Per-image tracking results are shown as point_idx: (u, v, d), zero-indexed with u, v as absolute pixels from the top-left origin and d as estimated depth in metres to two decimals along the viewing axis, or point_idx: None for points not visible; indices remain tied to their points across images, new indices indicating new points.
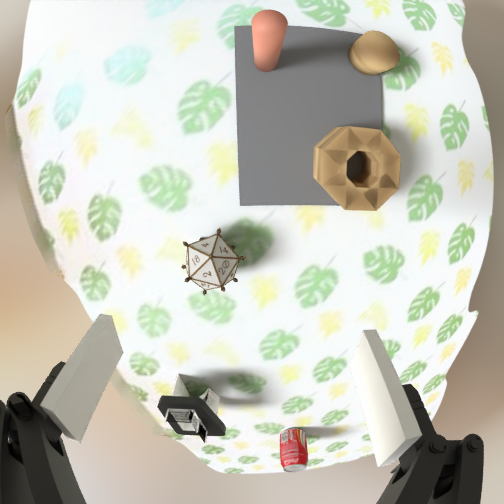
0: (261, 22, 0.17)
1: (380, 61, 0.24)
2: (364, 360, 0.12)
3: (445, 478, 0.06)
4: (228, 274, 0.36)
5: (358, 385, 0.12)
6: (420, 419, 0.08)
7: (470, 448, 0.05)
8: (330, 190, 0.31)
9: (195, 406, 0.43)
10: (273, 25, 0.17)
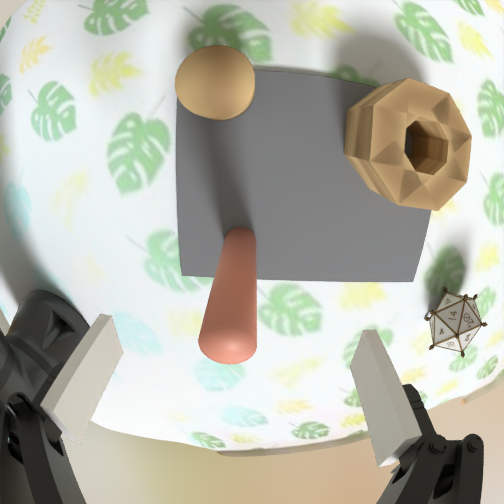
0: (226, 353, 0.14)
1: (239, 81, 0.16)
2: (364, 360, 0.12)
3: (445, 478, 0.06)
4: (474, 315, 0.23)
5: (358, 385, 0.12)
6: (420, 419, 0.08)
7: (470, 448, 0.05)
8: (444, 200, 0.18)
9: None
10: (232, 340, 0.13)
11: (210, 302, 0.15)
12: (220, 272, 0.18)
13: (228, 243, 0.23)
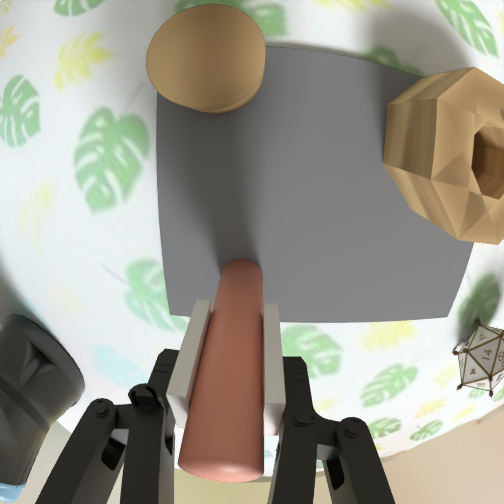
0: (220, 476, 0.07)
1: (242, 52, 0.10)
2: None
3: (340, 464, 0.08)
4: None
5: None
6: (299, 390, 0.10)
7: (349, 434, 0.07)
8: None
9: None
10: (228, 468, 0.07)
11: (194, 404, 0.09)
12: (211, 346, 0.12)
13: (224, 287, 0.16)
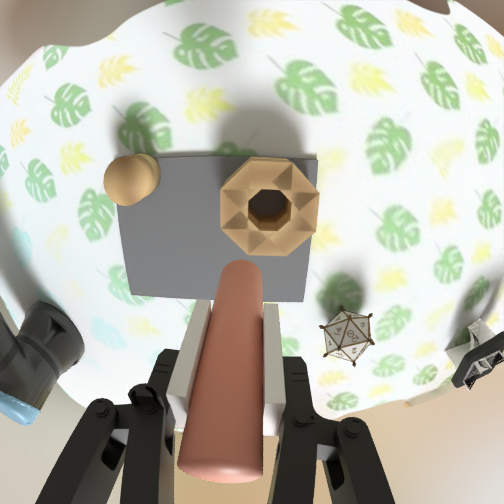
0: (219, 477, 0.07)
1: (138, 182, 0.28)
2: None
3: (340, 464, 0.08)
4: (360, 332, 0.35)
5: None
6: (299, 390, 0.10)
7: (349, 434, 0.07)
8: (292, 248, 0.30)
9: (470, 362, 0.35)
10: (227, 470, 0.07)
11: (193, 405, 0.09)
12: (210, 347, 0.12)
13: (224, 288, 0.16)
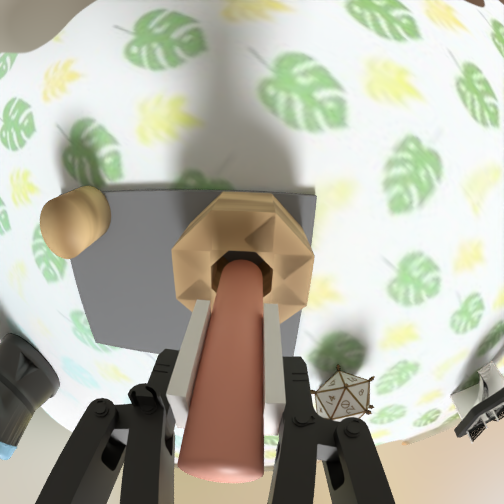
0: (220, 477, 0.07)
1: (75, 231, 0.20)
2: None
3: (340, 464, 0.08)
4: (357, 402, 0.27)
5: None
6: (299, 390, 0.10)
7: (349, 434, 0.07)
8: None
9: (476, 416, 0.27)
10: (228, 470, 0.07)
11: (194, 405, 0.09)
12: (211, 347, 0.12)
13: (224, 288, 0.16)
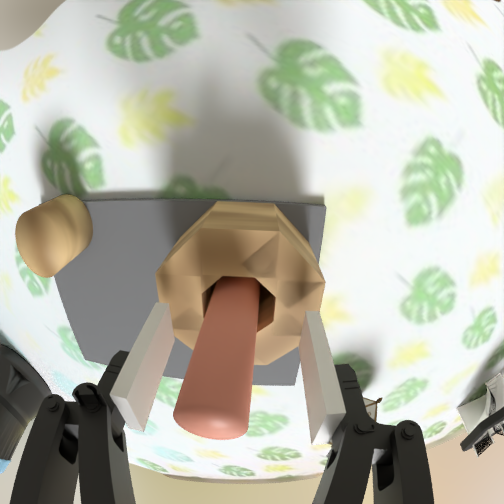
0: (210, 431, 0.09)
1: (51, 248, 0.16)
2: (305, 339, 0.13)
3: (388, 466, 0.07)
4: None
5: (302, 364, 0.14)
6: (352, 398, 0.09)
7: (405, 436, 0.07)
8: (276, 356, 0.18)
9: (484, 431, 0.23)
10: (216, 421, 0.09)
11: (191, 364, 0.11)
12: (210, 317, 0.14)
13: None
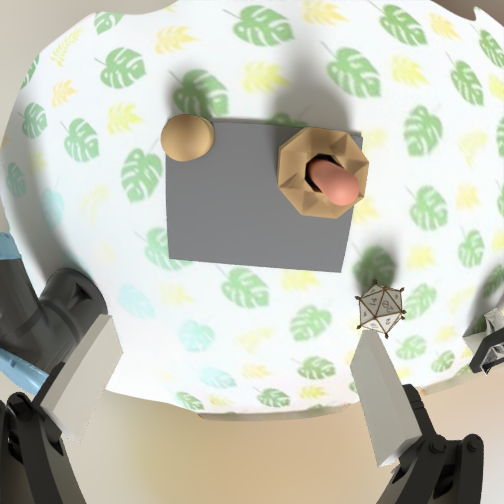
0: (341, 195, 0.22)
1: (198, 138, 0.29)
2: (364, 360, 0.12)
3: (445, 478, 0.06)
4: (394, 303, 0.35)
5: (358, 385, 0.12)
6: (420, 419, 0.08)
7: (470, 448, 0.05)
8: (342, 211, 0.30)
9: (488, 346, 0.35)
10: (346, 184, 0.21)
11: (325, 170, 0.23)
12: (321, 164, 0.26)
13: (314, 160, 0.30)
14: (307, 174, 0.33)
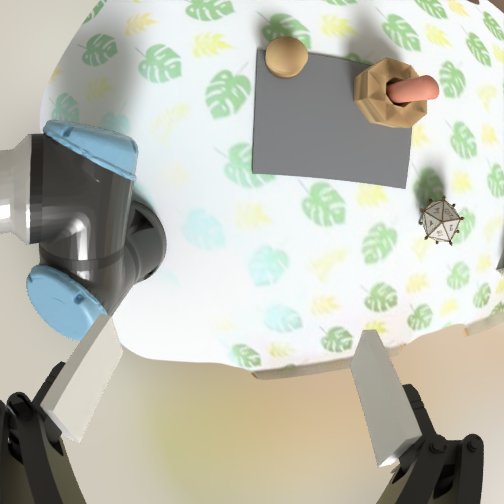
0: (429, 92, 0.22)
1: (300, 55, 0.29)
2: (364, 360, 0.12)
3: (445, 478, 0.06)
4: (453, 211, 0.36)
5: (358, 385, 0.12)
6: (420, 419, 0.08)
7: (470, 448, 0.05)
8: (413, 122, 0.31)
9: None
10: (431, 85, 0.22)
11: (412, 79, 0.24)
12: (402, 81, 0.26)
13: (387, 85, 0.31)
14: None
